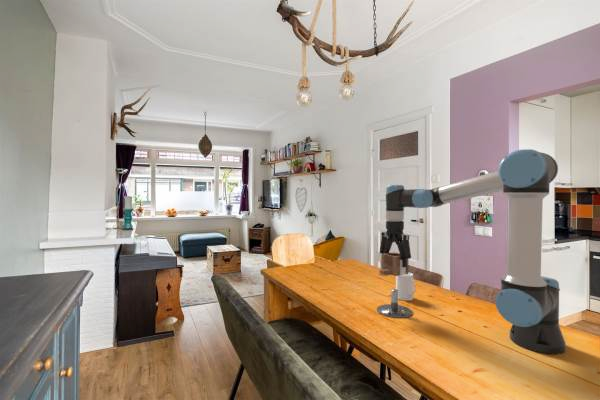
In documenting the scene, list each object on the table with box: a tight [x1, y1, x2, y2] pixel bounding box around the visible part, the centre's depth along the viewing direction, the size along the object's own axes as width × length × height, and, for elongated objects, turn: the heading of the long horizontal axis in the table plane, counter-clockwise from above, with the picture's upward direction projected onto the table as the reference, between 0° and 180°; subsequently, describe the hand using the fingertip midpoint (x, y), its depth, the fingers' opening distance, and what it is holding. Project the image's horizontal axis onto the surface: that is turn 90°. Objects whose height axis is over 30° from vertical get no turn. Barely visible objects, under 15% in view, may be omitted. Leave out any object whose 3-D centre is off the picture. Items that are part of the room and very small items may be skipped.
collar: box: [379, 252, 409, 277], centre depth 134 cm, size 12×8×8 cm, turn 122°
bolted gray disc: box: [376, 288, 414, 319], centre depth 135 cm, size 15×15×9 cm
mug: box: [395, 271, 417, 302], centre depth 151 cm, size 12×8×12 cm
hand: (394, 272), depth 135 cm, fingers closed on collar, 8 cm apart
